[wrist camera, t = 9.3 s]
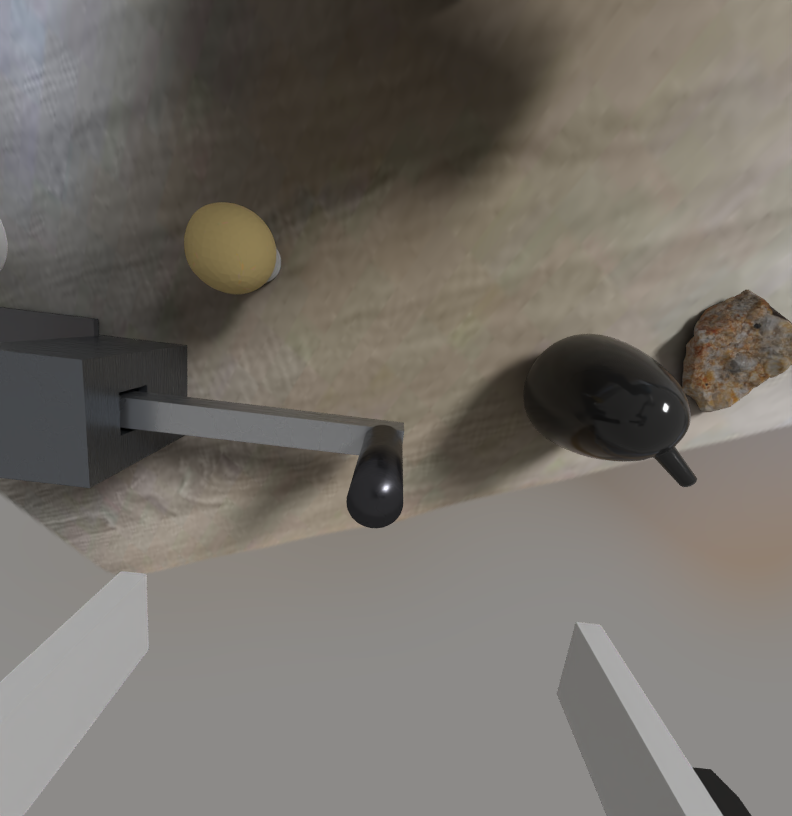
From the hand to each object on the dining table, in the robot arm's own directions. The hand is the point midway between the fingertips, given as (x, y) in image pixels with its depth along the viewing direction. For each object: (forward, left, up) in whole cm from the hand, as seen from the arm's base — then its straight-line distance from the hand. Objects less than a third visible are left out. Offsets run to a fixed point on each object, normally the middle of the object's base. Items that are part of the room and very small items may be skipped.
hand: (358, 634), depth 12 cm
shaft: (0, -13, -22) cm, 25 cm away
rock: (-10, +31, -29) cm, 44 cm away
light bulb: (-13, -13, -29) cm, 34 cm away
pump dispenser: (-5, +17, -29) cm, 33 cm away
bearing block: (0, -24, -28) cm, 37 cm away
